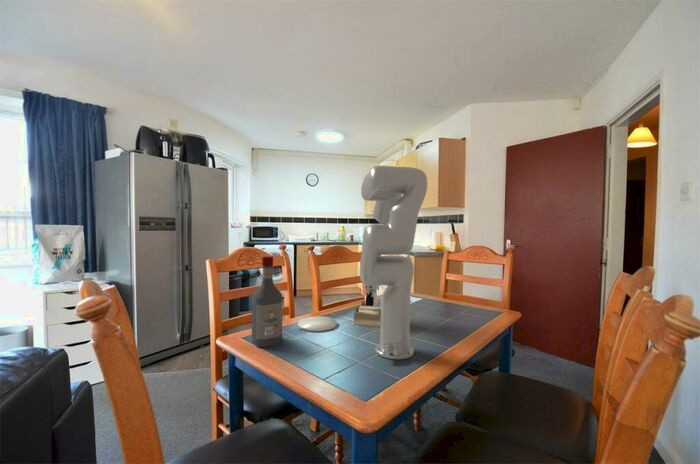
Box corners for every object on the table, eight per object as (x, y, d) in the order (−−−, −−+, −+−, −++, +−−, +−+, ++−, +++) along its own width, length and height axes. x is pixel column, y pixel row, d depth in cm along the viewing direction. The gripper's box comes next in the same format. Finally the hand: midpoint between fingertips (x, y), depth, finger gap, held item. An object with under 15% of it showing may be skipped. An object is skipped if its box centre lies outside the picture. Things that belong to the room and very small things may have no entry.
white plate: (328, 334, 113) (328, 330, 113) (290, 329, 118) (290, 326, 118) (341, 321, 129) (341, 318, 129) (307, 317, 133) (307, 314, 133)
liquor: (284, 343, 104) (285, 257, 103) (258, 349, 99) (258, 258, 98) (274, 335, 111) (275, 255, 111) (250, 340, 106) (250, 256, 105)
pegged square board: (382, 327, 122) (382, 310, 121) (354, 324, 125) (354, 307, 125) (387, 318, 133) (387, 303, 133) (361, 315, 137) (361, 300, 136)
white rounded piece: (367, 303, 133) (367, 287, 133) (380, 305, 131) (380, 289, 130) (362, 307, 127) (362, 290, 127) (376, 308, 125) (376, 292, 125)
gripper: (376, 265, 119) (375, 310, 120) (384, 260, 136) (383, 299, 136) (358, 264, 121) (357, 308, 122) (368, 259, 138) (367, 298, 138)
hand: (371, 303), depth 129 cm, fingers closed on white rounded piece, 6 cm apart
